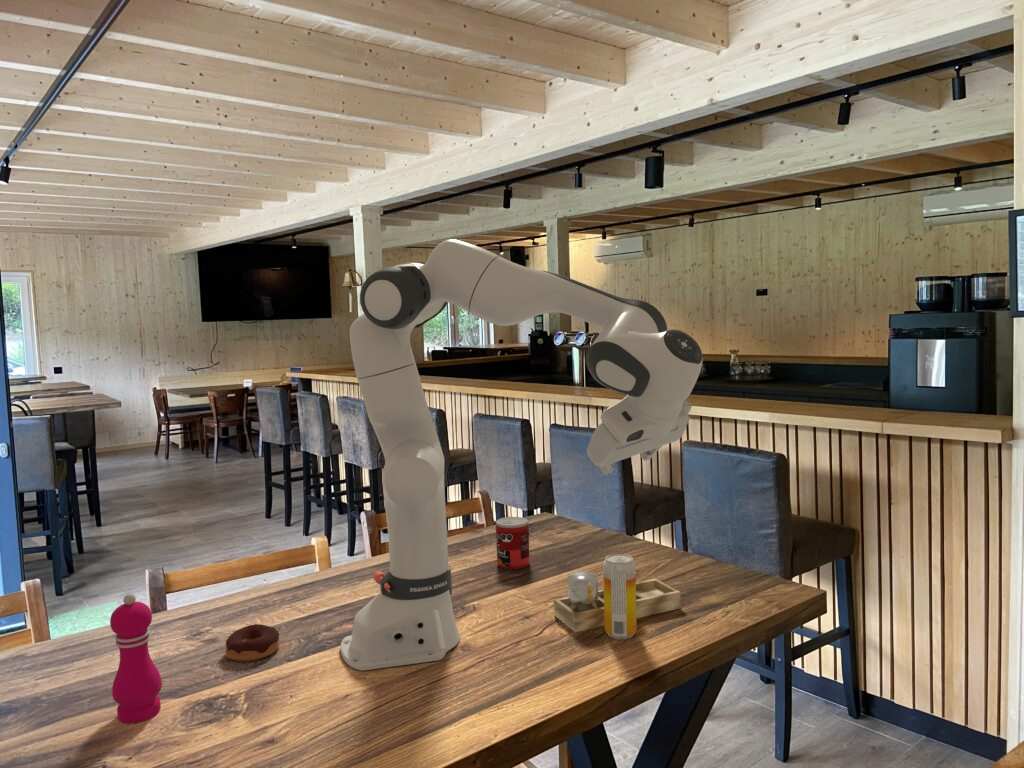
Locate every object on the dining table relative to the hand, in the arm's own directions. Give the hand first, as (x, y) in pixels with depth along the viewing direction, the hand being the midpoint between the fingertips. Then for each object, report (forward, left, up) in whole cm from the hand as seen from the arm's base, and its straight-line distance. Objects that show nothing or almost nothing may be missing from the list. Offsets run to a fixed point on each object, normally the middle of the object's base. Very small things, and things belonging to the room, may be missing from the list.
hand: (625, 464), depth 141 cm
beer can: (0, +3, -34) cm, 34 cm away
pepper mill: (-84, +14, -34) cm, 92 cm away
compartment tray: (+5, +12, -34) cm, 36 cm away
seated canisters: (+1, +12, -32) cm, 34 cm away
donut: (-65, +29, -34) cm, 79 cm away
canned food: (-2, +49, -34) cm, 60 cm away
